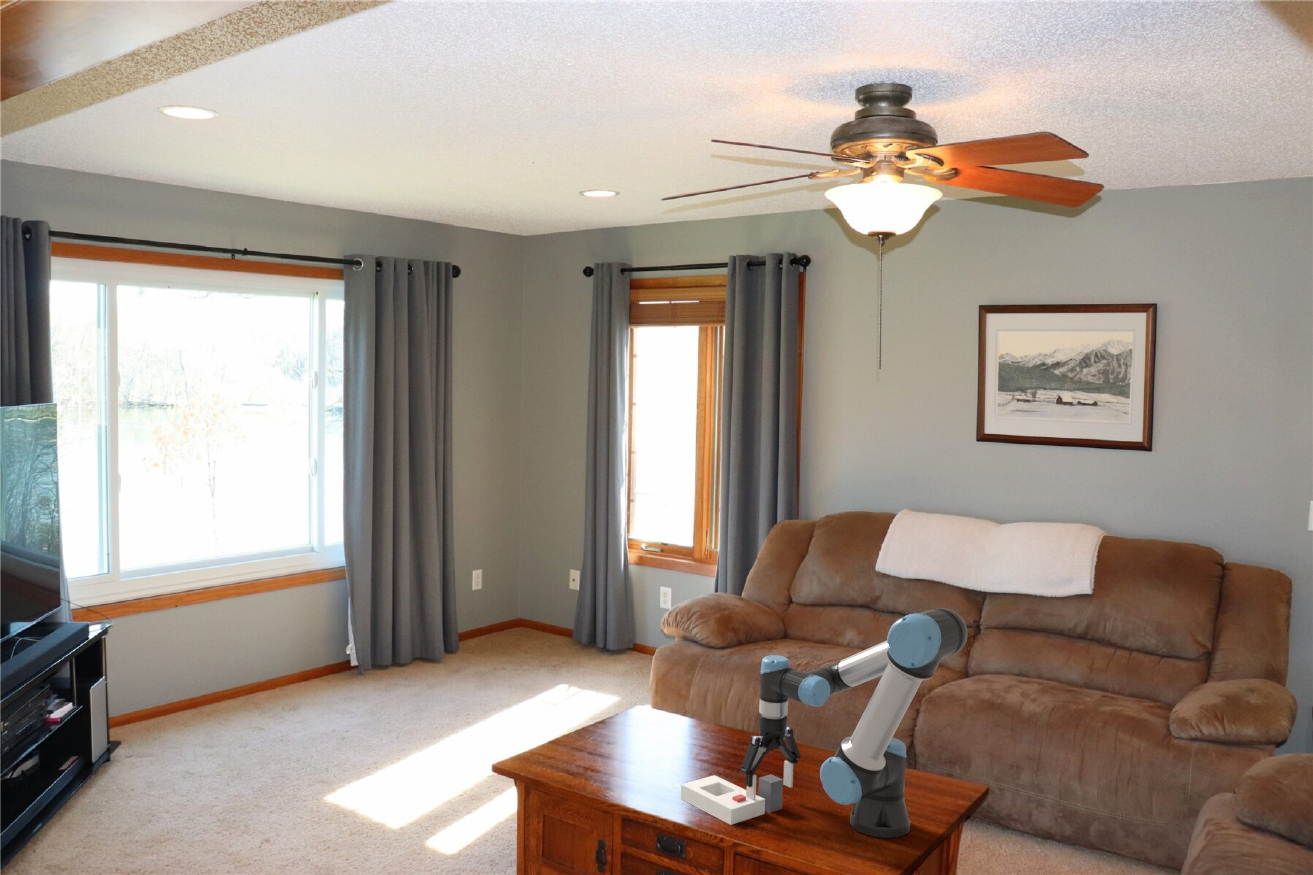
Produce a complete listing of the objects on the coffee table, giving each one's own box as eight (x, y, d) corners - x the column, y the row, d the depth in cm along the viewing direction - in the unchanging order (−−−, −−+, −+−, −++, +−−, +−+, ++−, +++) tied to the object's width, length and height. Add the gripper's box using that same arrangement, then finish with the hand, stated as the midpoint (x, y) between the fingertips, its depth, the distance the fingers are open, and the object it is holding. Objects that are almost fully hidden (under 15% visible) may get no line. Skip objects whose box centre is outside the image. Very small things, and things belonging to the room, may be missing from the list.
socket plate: (764, 813, 274) (765, 795, 274) (730, 824, 267) (731, 806, 267) (714, 789, 290) (714, 772, 290) (680, 798, 282) (681, 781, 282)
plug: (781, 808, 278) (783, 779, 278) (769, 812, 275) (771, 782, 275) (770, 803, 282) (771, 774, 281) (758, 806, 279) (759, 777, 278)
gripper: (795, 702, 288) (792, 776, 289) (728, 719, 272) (725, 797, 273) (815, 709, 282) (812, 785, 284) (748, 727, 266) (745, 807, 268)
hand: (769, 792), depth 279 cm, fingers open, 13 cm apart
